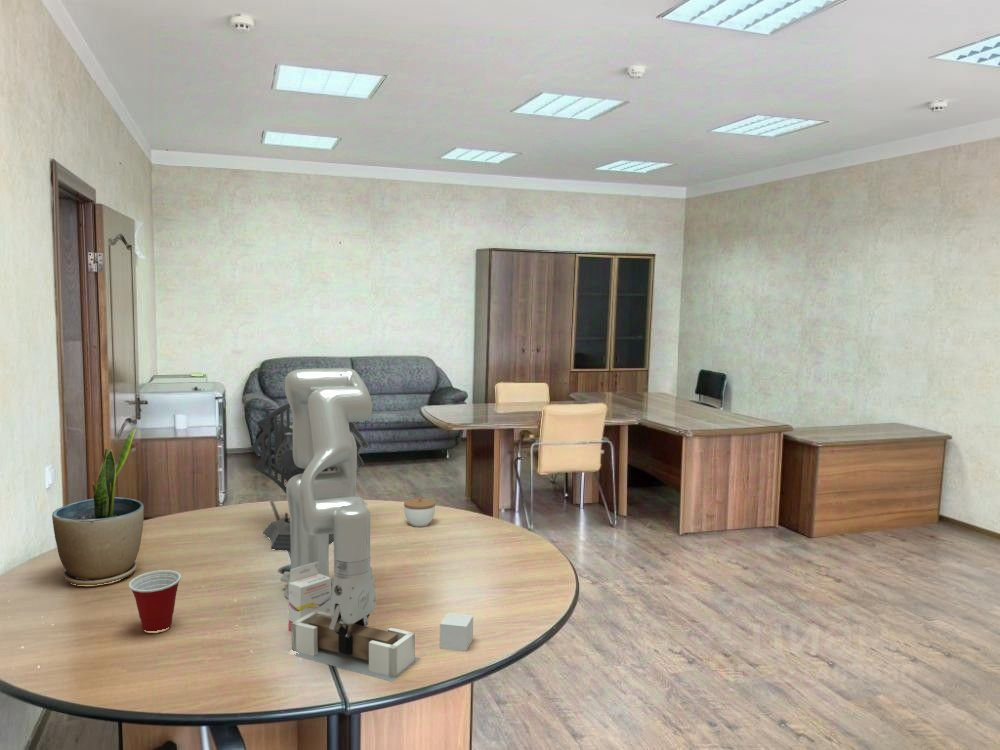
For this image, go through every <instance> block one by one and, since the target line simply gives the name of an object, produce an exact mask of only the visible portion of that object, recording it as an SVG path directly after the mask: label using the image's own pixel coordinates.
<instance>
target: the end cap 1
mask: <svg viewBox="0 0 1000 750" xmlns="http://www.w3.org/2000/svg"><path fill="white" fill-rule="evenodd" d="M320 616H323V617H328V618H331V613H326V612H322V611H318V610H315V611H313V612H311V613H309V614H307V615H306V616H304V617H302V618H300V619H299V620H297V621H295V622H293V623H291V631H290V632H291V639H290V641H291V649H292V650H293V651H296V652H299V653H303V654H307V655H311V656H315V655H317V654H318V643H317V627H316V626H312V625H309V622H311V621H313V620H314V619H316V618H318V617H320Z"/></svg>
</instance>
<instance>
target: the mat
mask: <svg viewBox="0 0 1000 750" xmlns="http://www.w3.org/2000/svg"><path fill="white" fill-rule="evenodd" d="M298 653H299V652H298ZM298 653H296V655H295V654H294V655H295V657H299V658H301V659H302V658H303V659H306V660H309V661H310V660H311V661H313V662H317V663H321V664H324V665H328V666H332V667H336V668H340V669H343V670H346V671H352V672H354V673H359V674H362V675H365V676H369V677H372V678H377V679H380V680H383V681H388V682H394V680H395V679H397V678H398V677H400V676H401V675H402V674H403V673H404V672H406V671H407V670H408V669H409V668H411V666H413V665H414V664H416V663H418V661H419V660H421V657H418V656H415V661H414V662H412V663H411V664H410V665H409V666H407V667H406V668H405V669H404V670H402V671H401V672H400V673H399V674H397V675H396V676H395V677H390V676H386V675H382V674H379V673H375V672H371V671H369V660H365V659H361V658H357V657H353V656H350V655H346V654H342V653H338V652H334V651H330V650H326V649H322V648H318V654H317V655H315V656H311V655H307V654H303V653H299V654H298ZM294 655H293V656H294Z"/></svg>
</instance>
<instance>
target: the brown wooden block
mask: <svg viewBox="0 0 1000 750" xmlns="http://www.w3.org/2000/svg"><path fill="white" fill-rule="evenodd" d="M331 621H332V618H328V617H323V616H320V617H318V618H316V619H314V620H313V621H311V622H309V625H312V626H316V627H317V643H318V648H322V649H326V650H330V651H334V652H338V653H340V652H339V635H337V633H336V632H335V631H333V630H330V629H329V627H330V624H331ZM343 627H344V628H345V629H346V625H344V624H343ZM350 636H353V653H352V654H351V655H350V656H353V657H357V658H361V659H365V660H369V642H370V641H372V640H374V641H378V642H382V643H386V644H390V645H393V644H394V643H396V642H397V641H398V634H396V633H392V632H388V630H387V631H386V630H382V629H378V628H374V627H370V626H362V625H358V624H352V626H351V635H350ZM342 654H343V653H342ZM346 655H347V654H346Z"/></svg>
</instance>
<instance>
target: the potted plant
mask: <svg viewBox="0 0 1000 750" xmlns="http://www.w3.org/2000/svg"><path fill="white" fill-rule="evenodd" d="M137 429H138V428H134V429H132V431H131V432H130V433H129V434H128V435H127V438H126V439H125V441H124V443H123V446H122V449H121V452H120V454H119V458H118V462H117V464H116V459H115V457H114V452H113V450H112V449H110V450H109V447H106V448H105V449H104V455H103V459H102V463H101V464H100V468H99V471H98V475H97V479H96V485H95V483H94V482H91V484H92V489H93V496H92V498H91V499H85V500H80V501H77V502H73V503H69V504H66V505H63V506H60V507H59V508H57V509H55V510H54V511H52V514H51V517H52V519H51V520H52V526H53V527H52V528H53V534H54V539H55V544H56V548H57V553H58V556H59V560H60V562H61V564H62V566H63V568H64V570H65V571H64V572H63V578H64V579H65V580H66V581H67V583H68V584H70V583H72V584H76V585H97V584H104V583H109V582H112V581H116V580H119V579H122V578H125V577H127V576H128V577H130V576H131V575H132V574H133V573H134V572H135V570H136V568H137V562H136V560H137V557H138V555H139V552H140V547H141V542H142V538H143V537H142V536H143V531H144V514H145V513H144V504H143V502H141V501H140V500H138V499H134V498H128V497H119V496H118V497H117V496H115V491H116V483H117V478H118V475H119V473H120V472H121V471H122V468H123V466H124V464H125V463H126V461H127V459H128V456H129V453H130V451H131V447H132V442H133V439H134V437H135V433H136V431H137ZM129 575H130V576H129ZM128 577H127V578H128ZM125 579H126V578H125ZM72 584H71V585H72Z"/></svg>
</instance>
